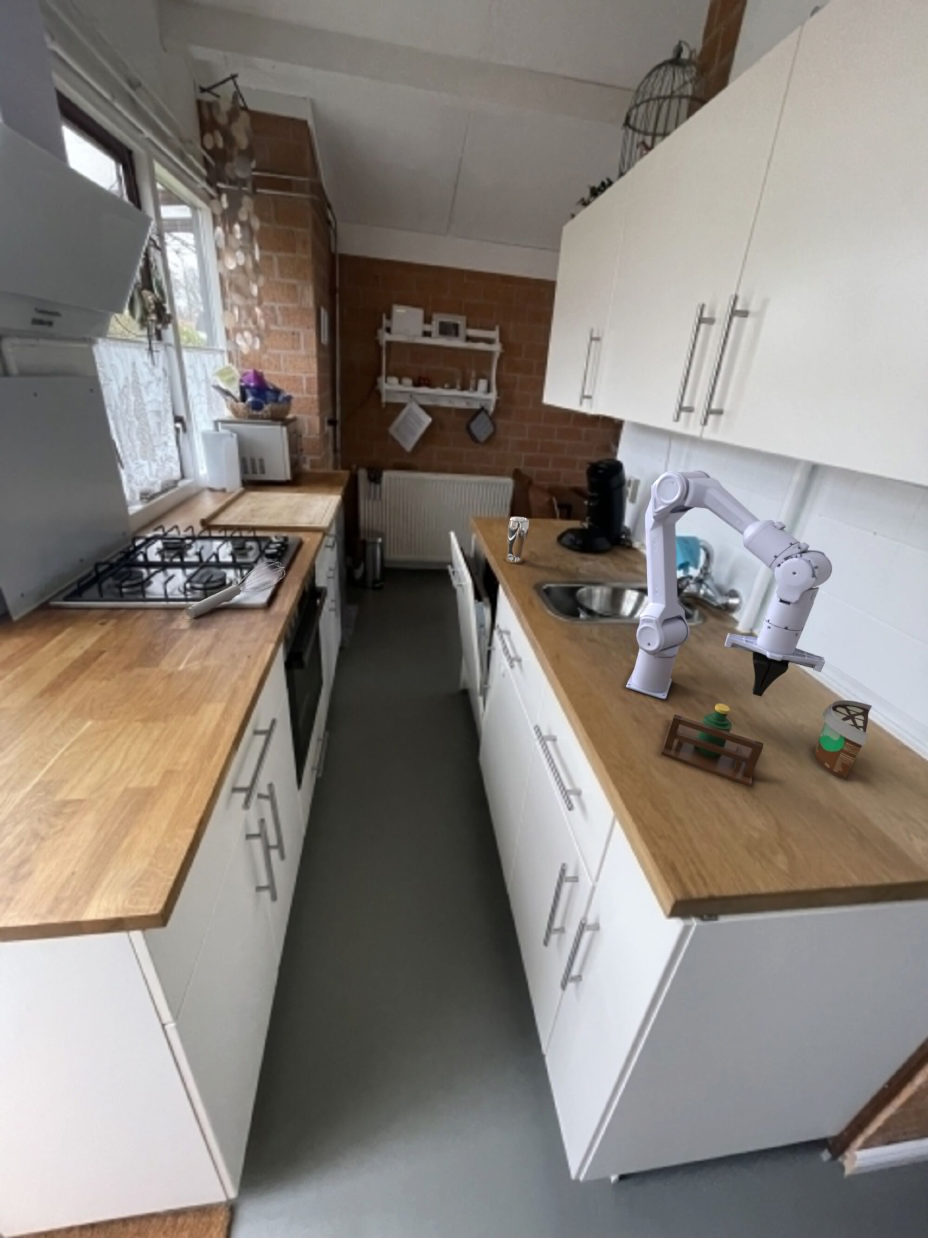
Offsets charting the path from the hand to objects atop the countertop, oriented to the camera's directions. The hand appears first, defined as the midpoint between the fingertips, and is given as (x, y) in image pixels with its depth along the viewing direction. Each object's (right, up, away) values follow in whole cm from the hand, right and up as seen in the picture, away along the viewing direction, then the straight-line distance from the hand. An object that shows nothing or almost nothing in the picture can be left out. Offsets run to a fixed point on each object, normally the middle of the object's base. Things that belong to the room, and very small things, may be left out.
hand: (757, 693), depth 90 cm
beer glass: (-34, +33, +90) cm, 102 cm away
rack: (-9, -10, 0) cm, 14 cm away
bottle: (-9, -10, -1) cm, 13 cm away
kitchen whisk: (-109, +18, +42) cm, 118 cm away
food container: (+13, -12, +1) cm, 18 cm away
